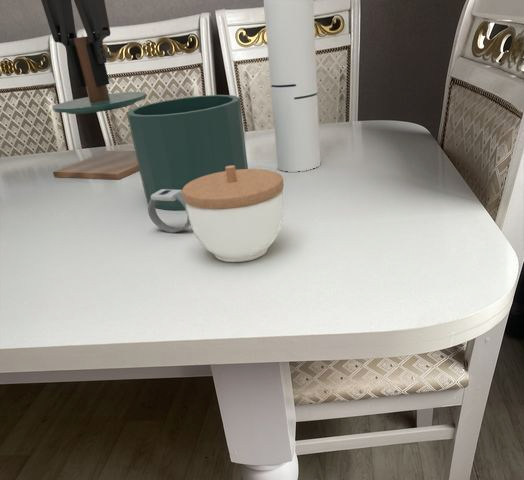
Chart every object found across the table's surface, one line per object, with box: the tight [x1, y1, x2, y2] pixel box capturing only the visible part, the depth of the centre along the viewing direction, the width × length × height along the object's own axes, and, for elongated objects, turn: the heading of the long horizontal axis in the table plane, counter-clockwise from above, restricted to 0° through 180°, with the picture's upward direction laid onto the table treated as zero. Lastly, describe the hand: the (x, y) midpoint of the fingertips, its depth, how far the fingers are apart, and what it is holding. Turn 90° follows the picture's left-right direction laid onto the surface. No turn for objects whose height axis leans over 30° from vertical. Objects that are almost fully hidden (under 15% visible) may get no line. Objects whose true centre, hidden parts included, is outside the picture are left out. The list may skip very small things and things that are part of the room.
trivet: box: [52, 150, 140, 181], centre depth 102 cm, size 16×16×1 cm
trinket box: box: [182, 165, 285, 263], centre depth 57 cm, size 11×11×9 cm
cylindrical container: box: [263, 0, 321, 173], centre depth 81 cm, size 7×7×25 cm
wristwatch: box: [147, 189, 191, 234], centre depth 66 cm, size 6×3×5 cm, turn 66°
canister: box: [126, 94, 249, 211], centre depth 77 cm, size 16×16×12 cm
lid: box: [52, 35, 147, 115], centre depth 94 cm, size 17×17×11 cm
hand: (93, 85), depth 94 cm, fingers closed on lid, 4 cm apart
